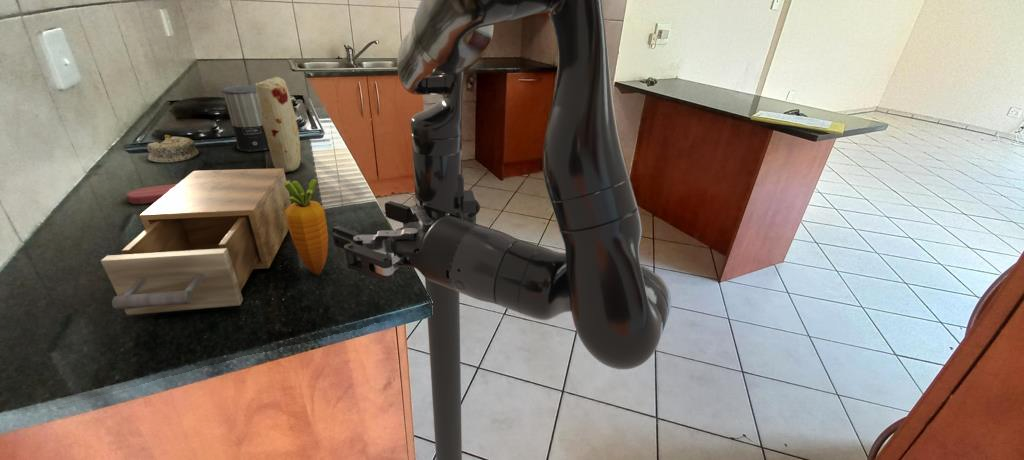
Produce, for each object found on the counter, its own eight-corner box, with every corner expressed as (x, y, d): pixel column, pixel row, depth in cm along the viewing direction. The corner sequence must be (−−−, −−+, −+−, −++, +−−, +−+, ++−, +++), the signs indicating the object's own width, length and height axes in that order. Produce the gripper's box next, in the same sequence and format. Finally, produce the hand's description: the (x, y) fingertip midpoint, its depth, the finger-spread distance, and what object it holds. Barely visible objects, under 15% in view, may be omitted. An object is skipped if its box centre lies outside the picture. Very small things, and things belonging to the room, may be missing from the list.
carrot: (337, 263, 65) (321, 171, 58) (334, 282, 61) (316, 184, 53) (302, 267, 63) (280, 172, 56) (296, 286, 59) (272, 187, 52)
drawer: (226, 331, 50) (206, 276, 46) (101, 344, 47) (70, 286, 43) (273, 244, 67) (262, 199, 63) (184, 249, 65) (167, 203, 61)
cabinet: (269, 268, 63) (253, 210, 58) (163, 275, 60) (138, 215, 55) (294, 218, 77) (283, 168, 72) (210, 222, 74) (193, 170, 70)
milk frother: (241, 154, 105) (225, 93, 98) (226, 139, 115) (210, 82, 108) (301, 145, 114) (290, 87, 106) (282, 131, 124) (271, 78, 117)
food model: (303, 174, 96) (285, 81, 86) (270, 176, 93) (248, 82, 84) (306, 160, 104) (289, 74, 94) (275, 162, 101) (255, 74, 92)
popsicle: (219, 187, 83) (122, 199, 77) (222, 195, 84) (126, 206, 78) (222, 178, 87) (130, 188, 81) (224, 185, 88) (133, 195, 82)
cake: (209, 153, 106) (204, 132, 104) (176, 167, 98) (170, 144, 95) (172, 146, 107) (166, 125, 104) (136, 159, 98) (129, 137, 96)
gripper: (508, 204, 49) (400, 174, 56) (430, 260, 38) (306, 214, 45) (505, 259, 53) (404, 225, 59) (433, 325, 41) (318, 274, 48)
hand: (362, 220), depth 52 cm, fingers open, 8 cm apart
